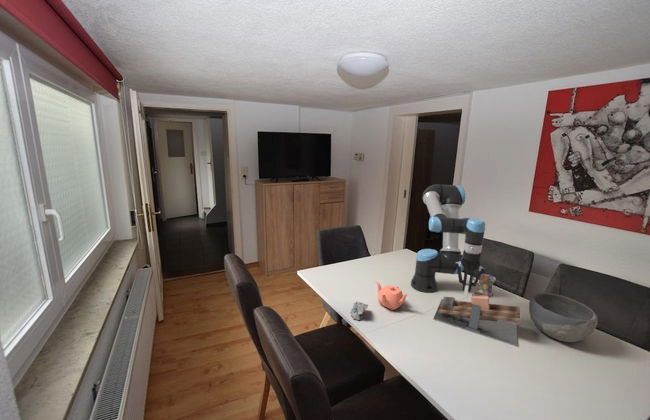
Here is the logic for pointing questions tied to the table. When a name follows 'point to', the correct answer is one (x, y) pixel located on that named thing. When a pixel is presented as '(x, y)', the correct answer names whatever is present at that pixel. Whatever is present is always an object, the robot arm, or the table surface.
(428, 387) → the table surface
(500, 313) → the beam
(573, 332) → the bowl
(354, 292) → the table surface
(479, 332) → the stand
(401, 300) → the teapot
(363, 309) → the mineral specimen
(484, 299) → the block
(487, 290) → the mug
